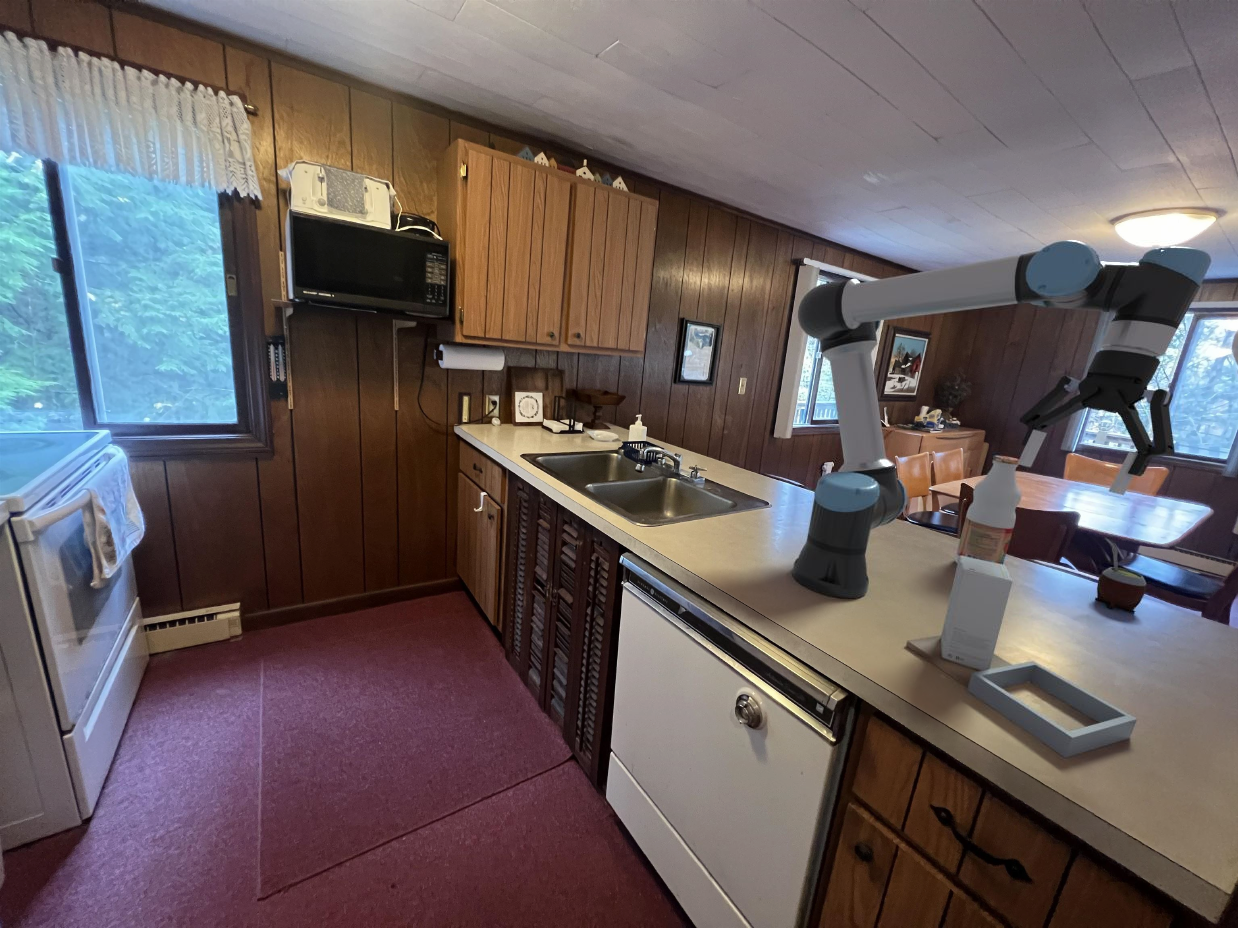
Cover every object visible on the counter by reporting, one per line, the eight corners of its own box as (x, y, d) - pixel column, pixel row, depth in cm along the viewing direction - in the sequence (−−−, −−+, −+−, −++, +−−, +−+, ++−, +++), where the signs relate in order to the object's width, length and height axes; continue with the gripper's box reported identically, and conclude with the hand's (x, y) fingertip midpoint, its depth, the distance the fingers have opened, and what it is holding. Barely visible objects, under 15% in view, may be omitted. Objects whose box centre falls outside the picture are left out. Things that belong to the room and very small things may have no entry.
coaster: (906, 645, 83) (907, 640, 83) (956, 637, 87) (957, 632, 87) (969, 688, 73) (971, 682, 72) (1022, 677, 77) (1024, 671, 76)
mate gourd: (1141, 610, 104) (1165, 545, 101) (1130, 618, 100) (1154, 551, 97) (1095, 594, 110) (1116, 532, 107) (1083, 601, 106) (1104, 537, 103)
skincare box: (988, 674, 75) (1015, 582, 71) (938, 658, 78) (961, 569, 75) (983, 649, 82) (1008, 564, 78) (937, 635, 85) (959, 552, 82)
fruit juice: (946, 557, 125) (973, 451, 119) (985, 561, 125) (1014, 455, 118) (968, 573, 116) (998, 459, 110) (1009, 578, 115) (1042, 464, 109)
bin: (966, 690, 72) (972, 672, 72) (1027, 677, 77) (1032, 660, 76) (1065, 757, 61) (1072, 737, 60) (1130, 737, 65) (1137, 718, 65)
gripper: (1256, 369, 67) (1176, 510, 72) (1055, 350, 90) (1004, 458, 95) (1232, 358, 64) (1150, 504, 70) (1030, 341, 87) (980, 453, 92)
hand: (1066, 478), depth 82 cm, fingers open, 13 cm apart
